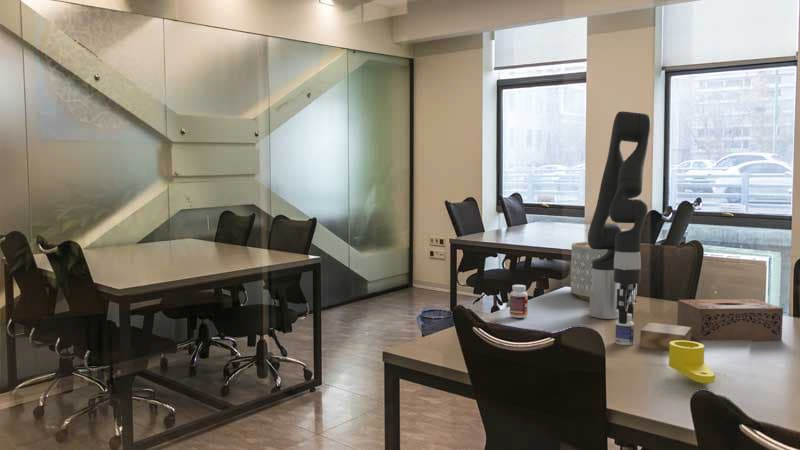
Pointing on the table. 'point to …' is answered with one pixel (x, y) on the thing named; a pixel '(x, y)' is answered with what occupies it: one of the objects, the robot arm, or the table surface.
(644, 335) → the walnut block
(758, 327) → the tissue box cover
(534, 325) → the table surface
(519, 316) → the pill bottle
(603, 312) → the robot arm
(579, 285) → the planter
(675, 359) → the crank
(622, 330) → the pill bottle
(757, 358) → the table surface
